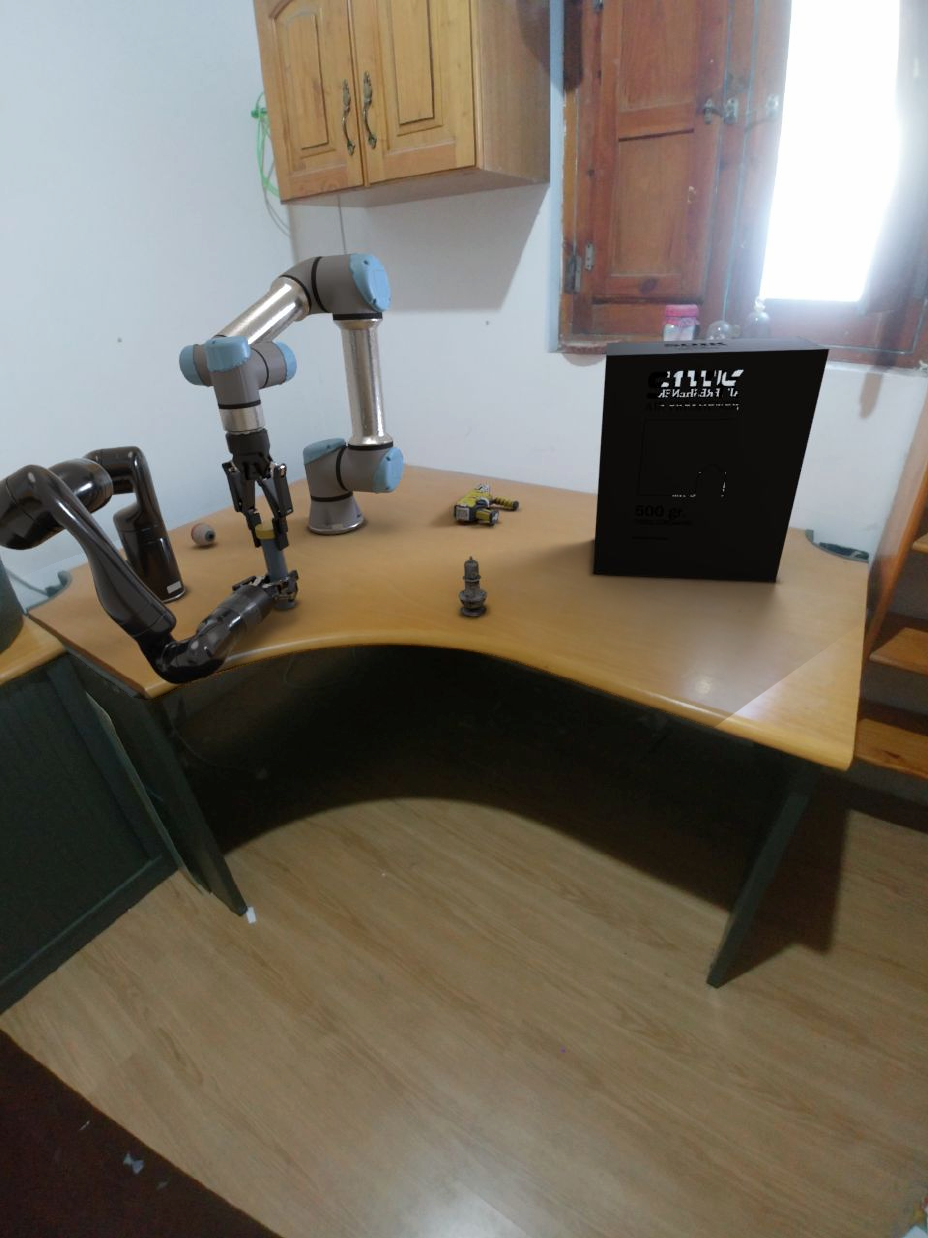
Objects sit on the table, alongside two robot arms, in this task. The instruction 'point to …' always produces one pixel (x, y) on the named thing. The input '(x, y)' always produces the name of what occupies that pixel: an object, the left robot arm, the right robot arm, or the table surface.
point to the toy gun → (480, 505)
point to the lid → (265, 531)
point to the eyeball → (203, 534)
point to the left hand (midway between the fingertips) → (285, 573)
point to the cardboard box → (703, 455)
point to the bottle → (275, 567)
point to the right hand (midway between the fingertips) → (272, 546)
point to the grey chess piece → (472, 590)
